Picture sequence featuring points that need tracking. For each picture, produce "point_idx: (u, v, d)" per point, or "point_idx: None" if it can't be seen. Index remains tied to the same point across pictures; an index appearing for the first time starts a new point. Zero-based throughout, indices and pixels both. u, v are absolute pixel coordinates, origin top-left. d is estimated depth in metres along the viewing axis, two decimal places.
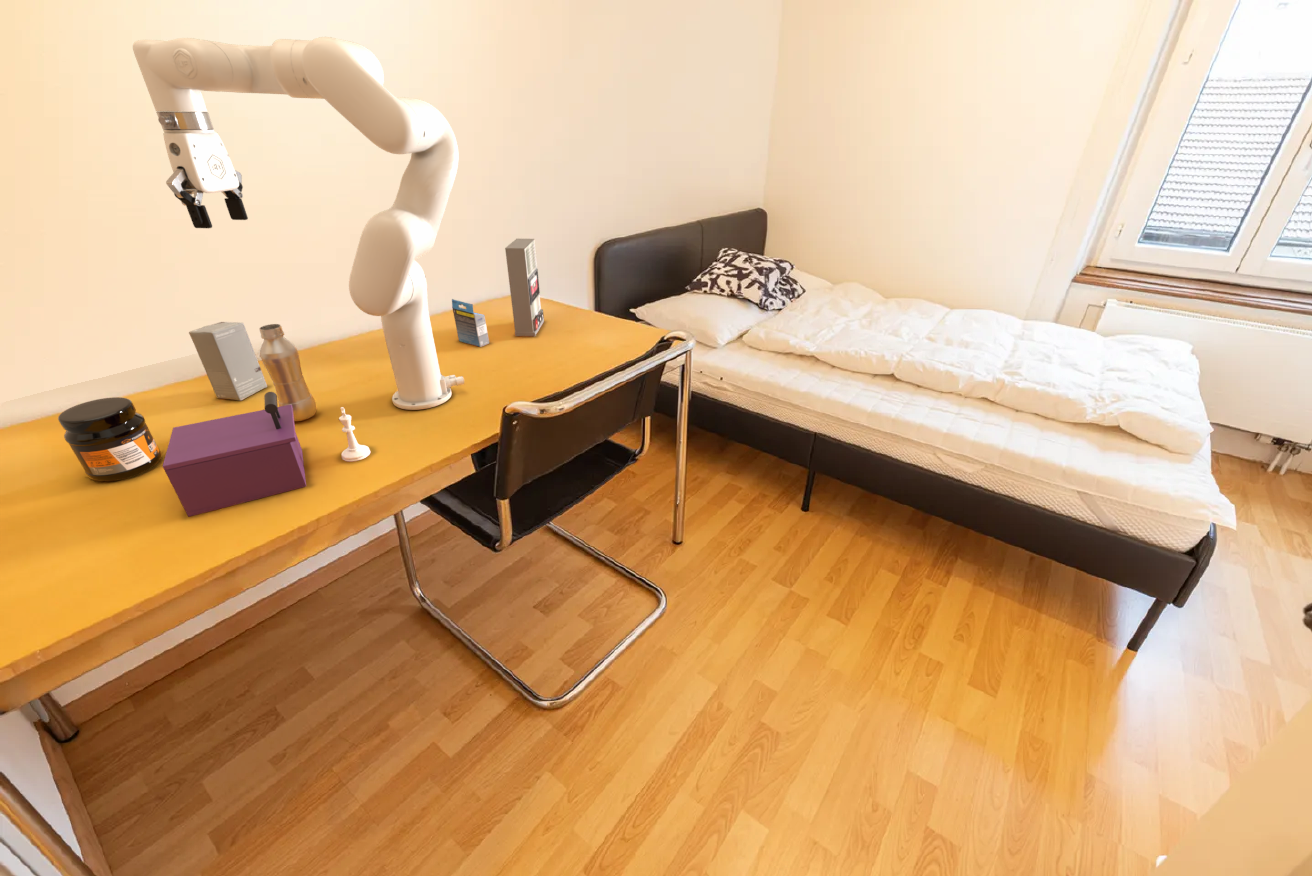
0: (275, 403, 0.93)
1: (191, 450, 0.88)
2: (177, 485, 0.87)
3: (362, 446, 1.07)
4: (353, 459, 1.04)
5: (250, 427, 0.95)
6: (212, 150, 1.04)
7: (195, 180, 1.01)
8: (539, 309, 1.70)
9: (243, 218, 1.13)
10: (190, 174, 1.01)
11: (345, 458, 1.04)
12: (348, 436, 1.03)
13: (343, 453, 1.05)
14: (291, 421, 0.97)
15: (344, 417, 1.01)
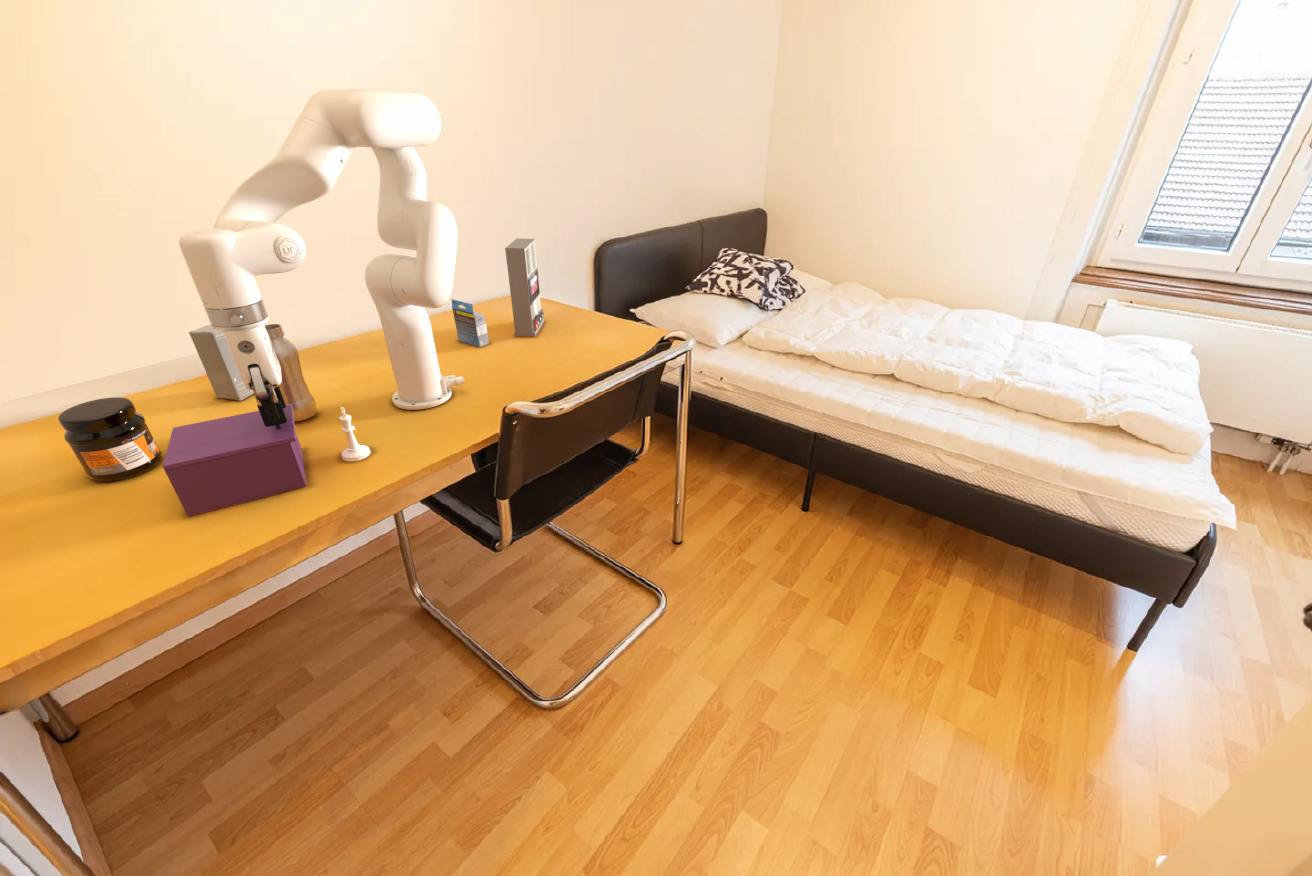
0: None
1: (191, 450, 0.88)
2: (177, 485, 0.87)
3: (362, 446, 1.07)
4: (353, 459, 1.04)
5: (250, 427, 0.95)
6: (268, 336, 0.91)
7: (272, 375, 0.89)
8: (539, 309, 1.70)
9: (282, 407, 0.98)
10: (266, 370, 0.88)
11: (345, 458, 1.04)
12: (348, 436, 1.03)
13: (343, 453, 1.05)
14: (291, 421, 0.97)
15: (344, 417, 1.01)
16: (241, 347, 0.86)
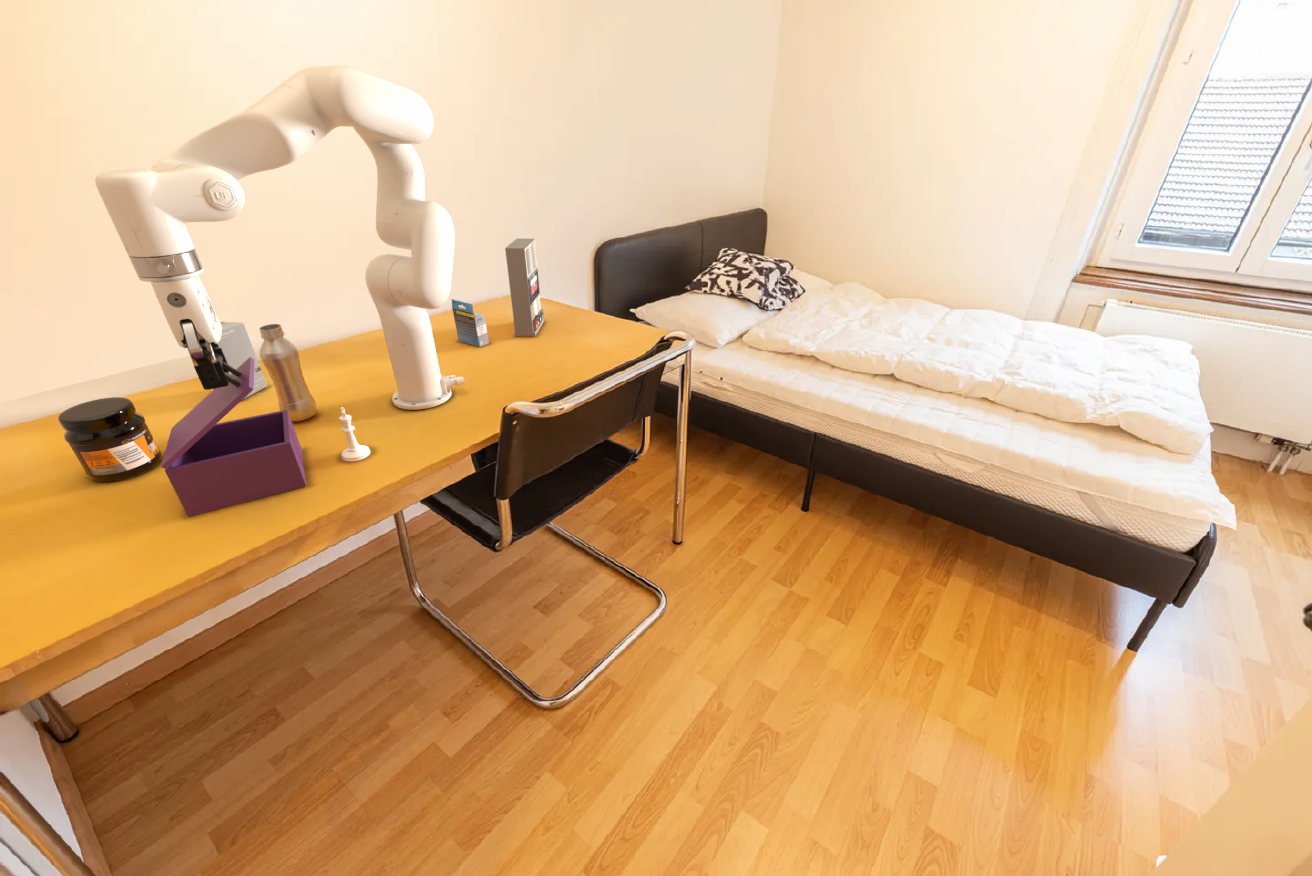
0: None
1: (180, 441, 0.87)
2: (177, 485, 0.87)
3: (362, 446, 1.07)
4: (353, 459, 1.04)
5: (220, 396, 0.91)
6: (204, 291, 0.84)
7: (207, 332, 0.82)
8: (539, 309, 1.70)
9: (226, 370, 0.92)
10: (200, 326, 0.81)
11: (345, 458, 1.04)
12: (348, 436, 1.03)
13: (343, 453, 1.05)
14: (248, 373, 0.91)
15: (344, 417, 1.01)
16: (171, 300, 0.79)
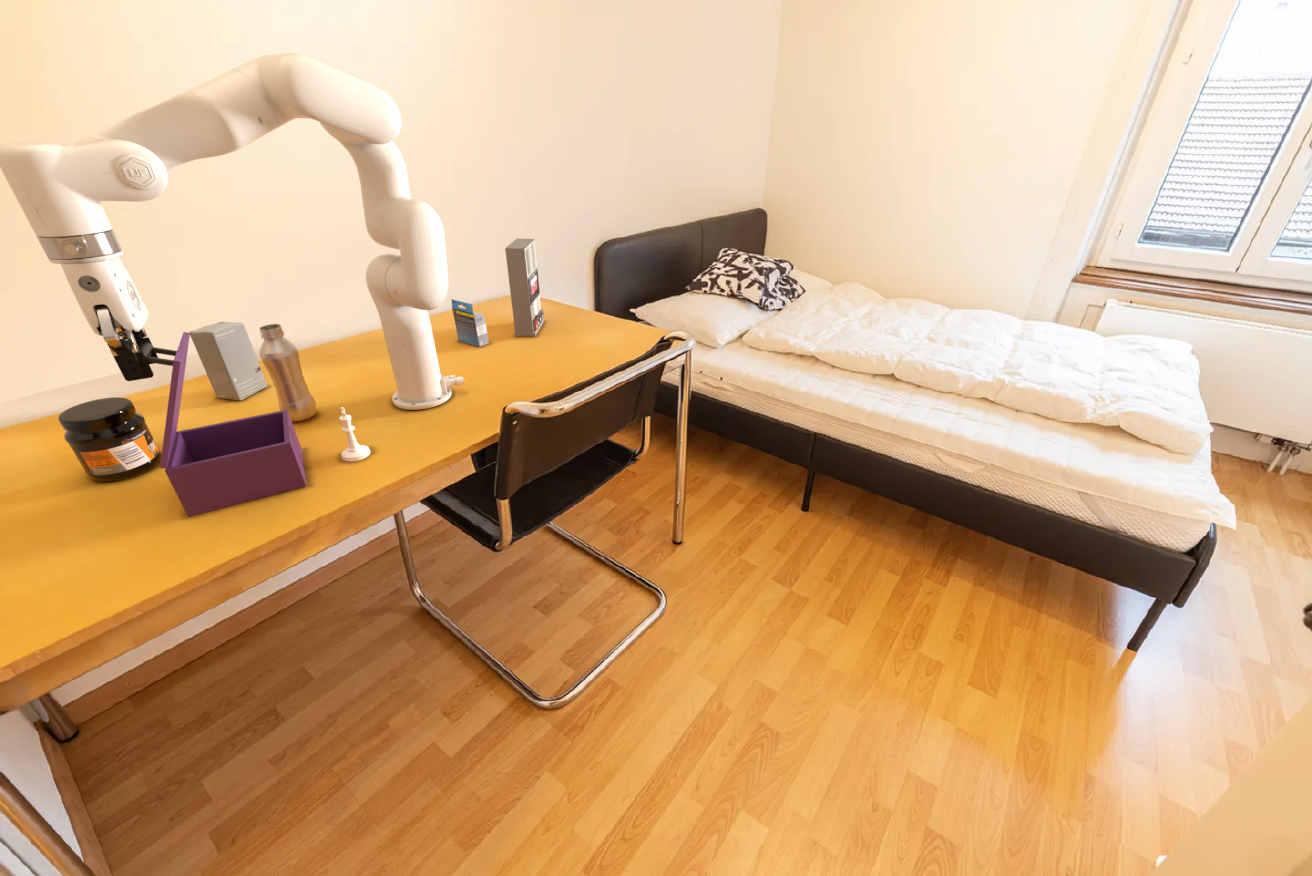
0: None
1: None
2: (177, 485, 0.87)
3: (362, 446, 1.07)
4: (353, 459, 1.04)
5: None
6: (125, 275, 0.79)
7: (125, 319, 0.77)
8: (539, 309, 1.70)
9: None
10: (117, 312, 0.76)
11: (345, 458, 1.04)
12: (348, 436, 1.03)
13: (343, 453, 1.05)
14: (178, 348, 0.84)
15: (344, 417, 1.01)
16: (84, 284, 0.74)
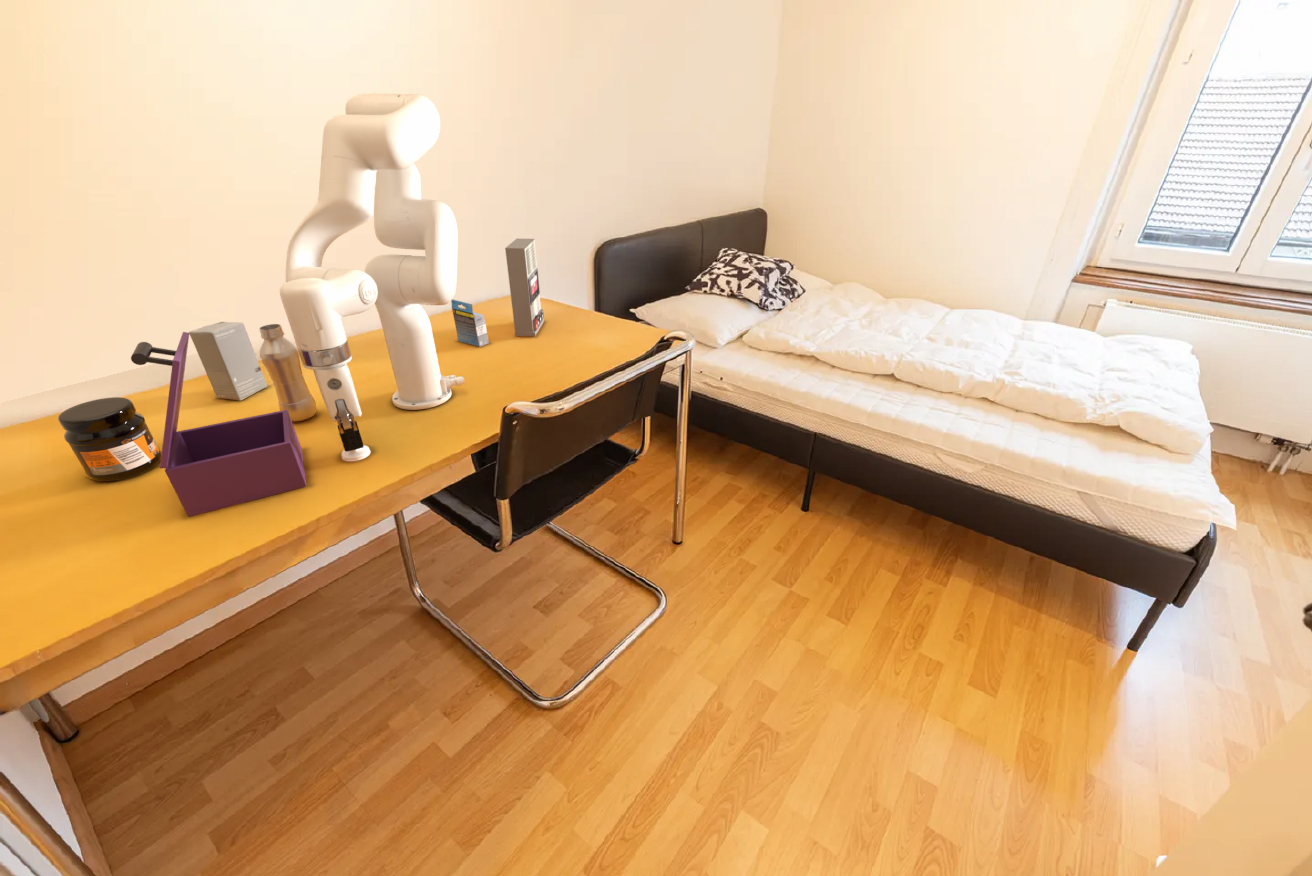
0: (135, 352, 0.81)
1: None
2: (177, 485, 0.87)
3: None
4: (353, 459, 1.04)
5: None
6: None
7: (355, 408, 0.97)
8: (539, 309, 1.70)
9: None
10: (350, 404, 0.97)
11: (345, 458, 1.04)
12: None
13: (343, 453, 1.05)
14: None
15: None
16: (329, 384, 0.95)
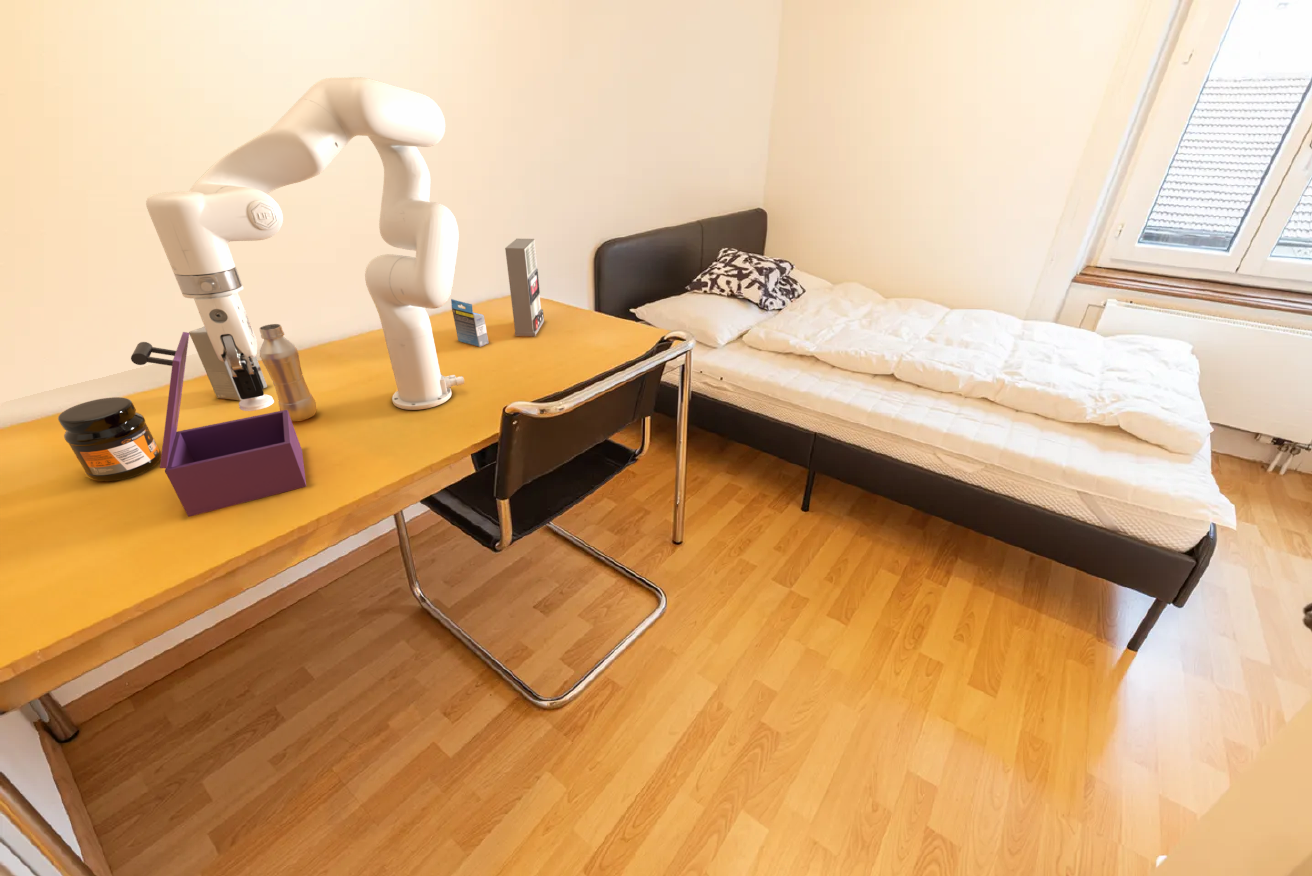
0: (135, 352, 0.81)
1: None
2: (177, 485, 0.87)
3: (264, 395, 0.94)
4: (251, 408, 0.92)
5: None
6: (243, 307, 0.87)
7: (246, 346, 0.85)
8: (539, 309, 1.70)
9: None
10: (239, 341, 0.84)
11: (242, 407, 0.92)
12: None
13: (240, 402, 0.92)
14: None
15: None
16: (213, 316, 0.83)
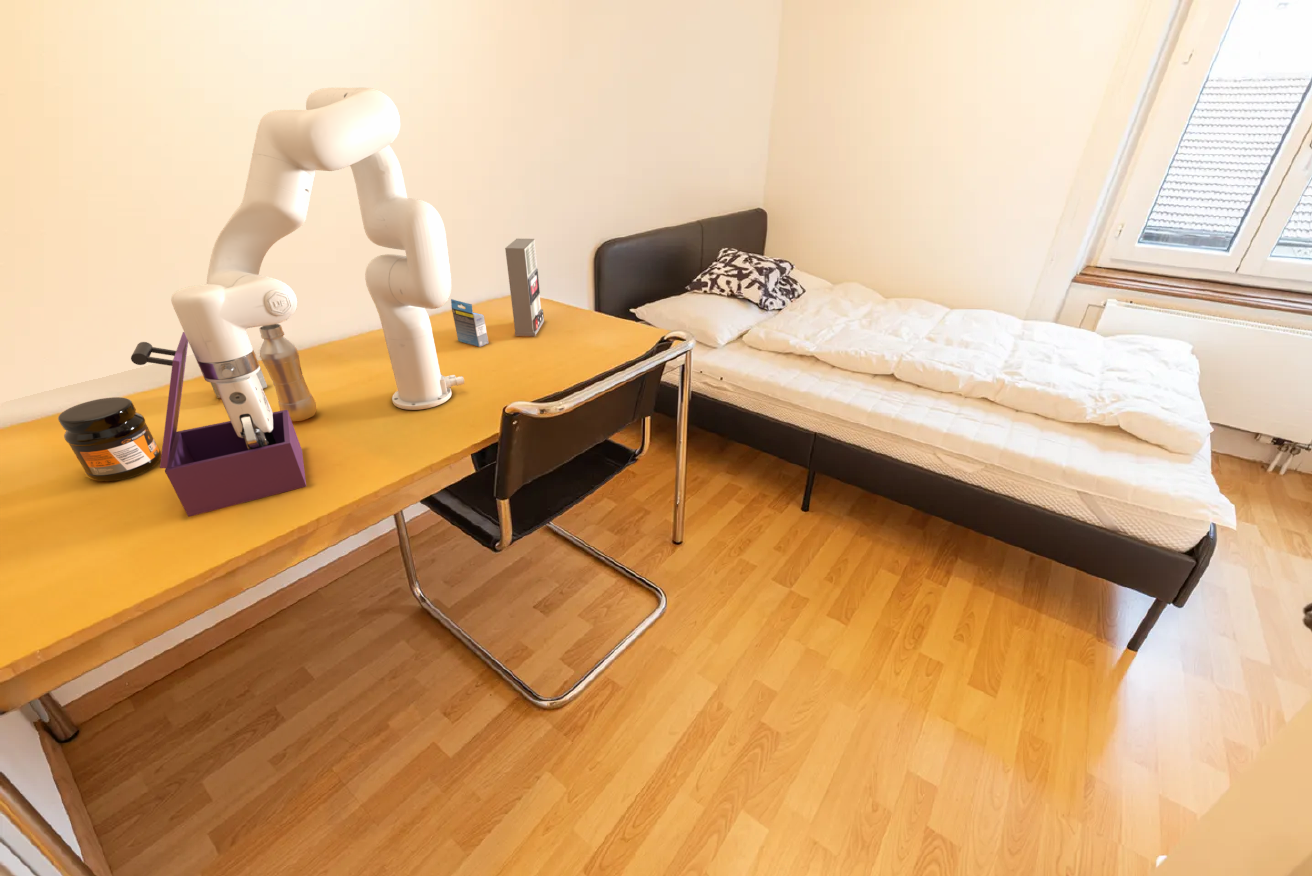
0: (135, 352, 0.81)
1: None
2: (177, 485, 0.87)
3: None
4: None
5: None
6: (259, 385, 0.93)
7: (263, 423, 0.91)
8: (539, 309, 1.70)
9: None
10: (257, 419, 0.90)
11: None
12: None
13: None
14: None
15: (255, 432, 0.95)
16: (233, 398, 0.88)
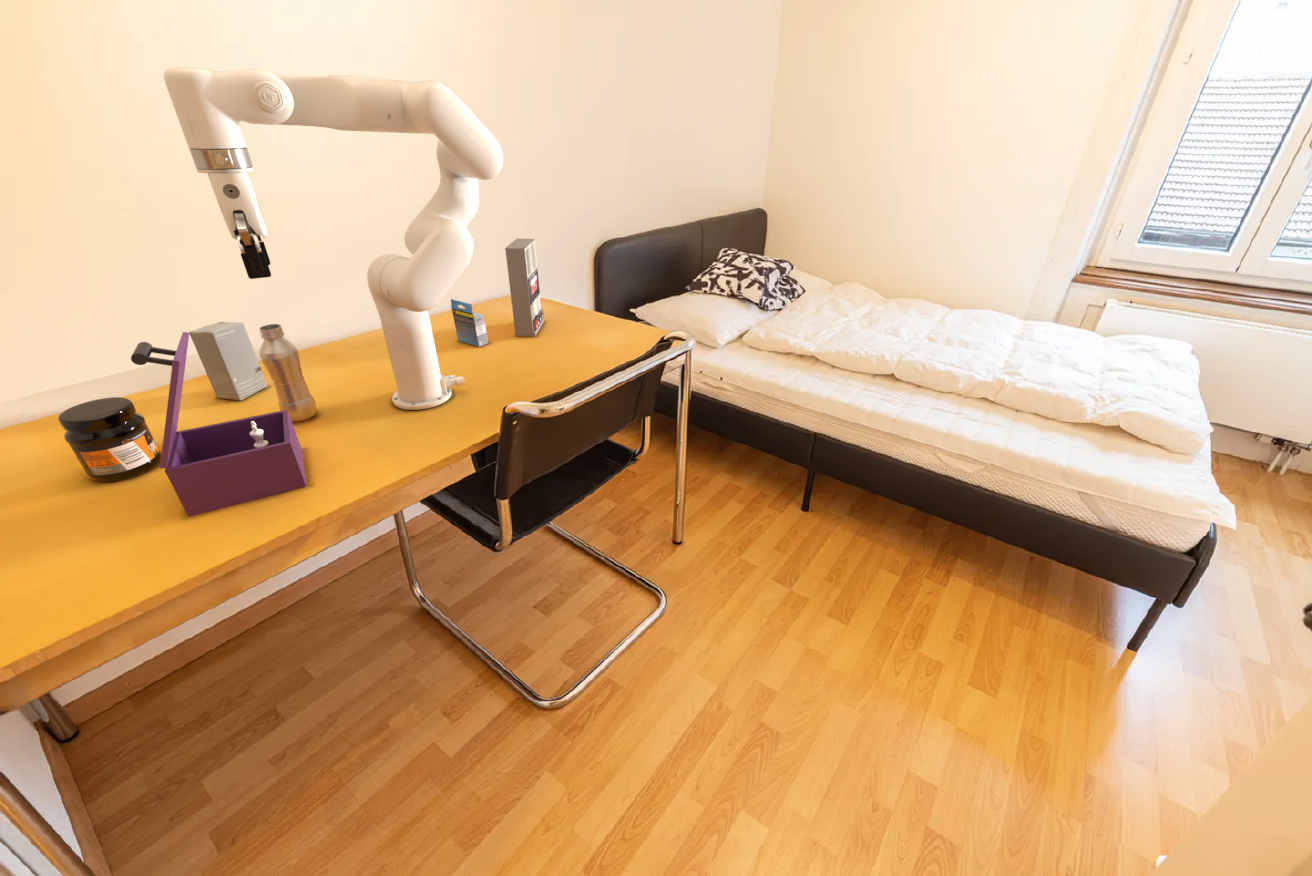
0: (135, 352, 0.81)
1: None
2: (177, 485, 0.87)
3: None
4: None
5: None
6: (253, 189, 0.92)
7: (257, 224, 0.90)
8: (539, 309, 1.70)
9: (267, 263, 1.00)
10: (251, 218, 0.89)
11: None
12: None
13: None
14: None
15: (255, 432, 0.95)
16: (226, 192, 0.87)
